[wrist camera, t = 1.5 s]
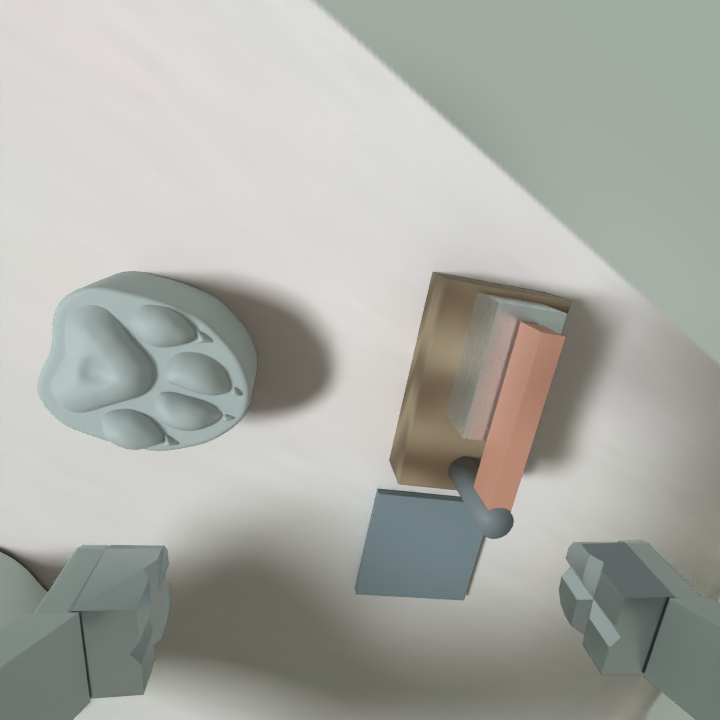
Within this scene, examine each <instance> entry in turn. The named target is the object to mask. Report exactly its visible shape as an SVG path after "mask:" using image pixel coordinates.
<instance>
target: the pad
mask: <svg viewBox="0 0 720 720" xmlns="http://www.w3.org/2000/svg"><path fill="white" fill-rule="evenodd" d="M482 538H483V534H482V532H481V531H480V529H479V527H478V526H477V524H476V522H475V520H474V519H473V517H472V515H471V513H470V512H469V510H468V508H467V506H466V505H465V503H464V501H463V500H462V498H461V497H453V496H443V495H433V494H423V493H413V492H402V491H392V490H382V489H377V493H376V497H375V502H374V506H373V510H372V515H371V519H370V524H369V528H368V533H367V537H366V541H365V546H364V550H363V555H362V559H361V563H360V568H359V572H358V577H357V581H356V586H355V591H356V594H364V595H381V596H398V597H415V598H432V599H450V600H464V598H465V594H466V591H467V588H468V585H469V581H470V578H471V575H472V571H473V568H474V565H475V561H476V558H477V555H478V551H479V548H480V545H481V542H482Z"/></svg>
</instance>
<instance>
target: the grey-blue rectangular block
mask: <svg viewBox="0 0 720 720" xmlns="http://www.w3.org/2000/svg"><path fill="white" fill-rule="evenodd" d="M566 317H567V314H566V313H564V312H561V311H559V310H556V309H554V308H551V307H549V306H546V305H544V304H541V303H538V302H533V301H527V300H521V299H516V298H510V297H505V296H499V295H493V294H488V293H482V292H478V293H477V297H476V301H475V305H474V309H473V313H472V316H471V320H470V324H469V328H468V332H467V336H466V340H465V344H464V347H463V351H462V355H461V359H460V363H459V367H458V371H457V375H456V378H455V382H454V386H453V390H452V394H451V398H450V402H449V406H448V410H447V413H446V416H447V418H448V419H449V420H450V422H451V423H452V425H453V426H454V427H455V429H456V430H457V432H458V433H459V434H460V436H461V437H462V438H464V439H473V440H481V441H487V438H488V434H489V431H490V427H491V424H492V420H493V417H494V413H495V410H496V406H497V403H498V399H499V396H500V392H501V389H502V385H503V382H504V378H505V375H506V371H507V368H508V364H509V361H510V357H511V354H512V350H513V347H514V343H515V340H516V336H517V333H518V330H519V326H520V323H521V322H526V323H532V324H538V325H543V326H545V327H547V328H549V329H551V330H553V331H555V332H557V333H559V334H561V333H562V330H563V326H564V323H565V320H566Z"/></svg>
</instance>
